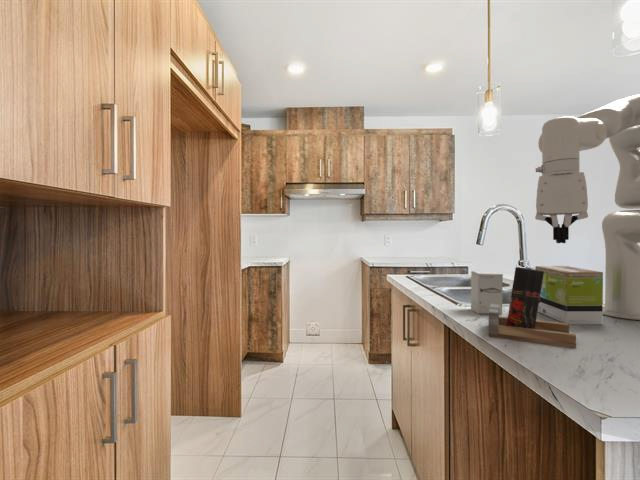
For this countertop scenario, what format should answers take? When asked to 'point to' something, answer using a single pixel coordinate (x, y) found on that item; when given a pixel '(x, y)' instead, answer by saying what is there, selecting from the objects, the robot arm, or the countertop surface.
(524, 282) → the black package box
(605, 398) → the countertop surface
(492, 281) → the supplement box
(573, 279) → the tea box
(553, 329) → the channel
